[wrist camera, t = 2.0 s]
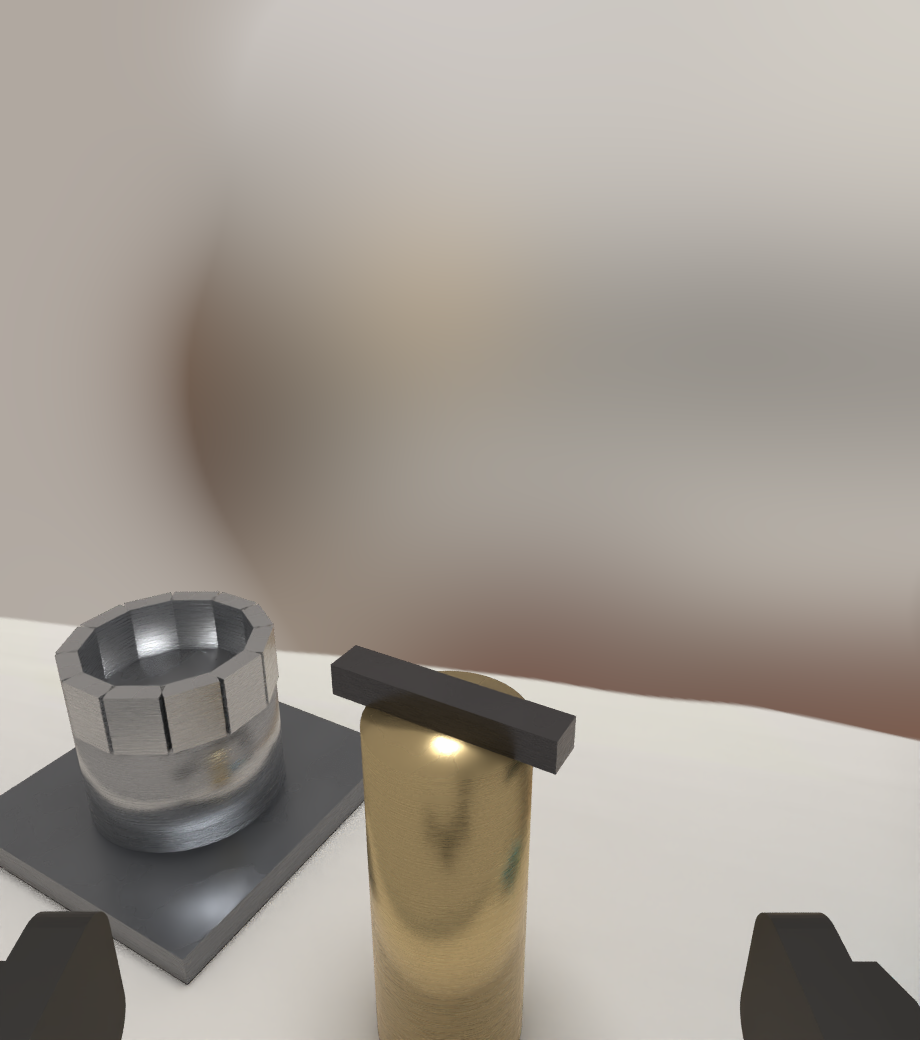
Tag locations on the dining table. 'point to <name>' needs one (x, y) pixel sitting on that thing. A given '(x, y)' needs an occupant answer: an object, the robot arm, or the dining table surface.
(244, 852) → the pipe socket
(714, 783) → the dining table surface
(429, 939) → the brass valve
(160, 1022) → the dining table surface
